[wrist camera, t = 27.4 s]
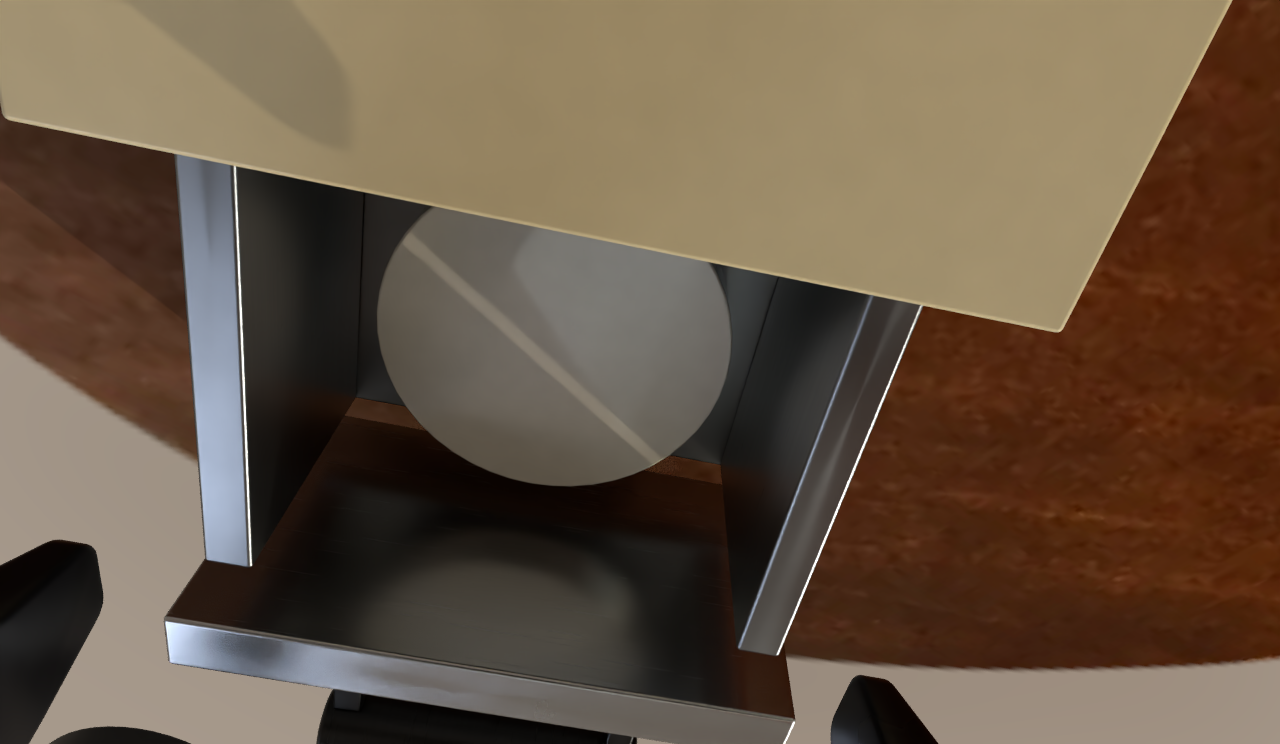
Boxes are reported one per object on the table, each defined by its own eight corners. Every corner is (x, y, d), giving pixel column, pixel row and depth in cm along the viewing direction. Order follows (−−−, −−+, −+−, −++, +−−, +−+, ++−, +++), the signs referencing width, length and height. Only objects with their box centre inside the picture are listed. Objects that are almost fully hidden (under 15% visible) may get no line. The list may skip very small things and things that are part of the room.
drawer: (707, 647, 24) (719, 892, 18) (306, 579, 23) (184, 814, 17) (946, -38, 15) (1122, 11, 9) (309, -188, 14) (60, -238, 8)
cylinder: (686, 462, 20) (687, 512, 18) (393, 409, 19) (368, 455, 18) (765, 182, 16) (776, 214, 15) (412, 108, 16) (384, 134, 14)
